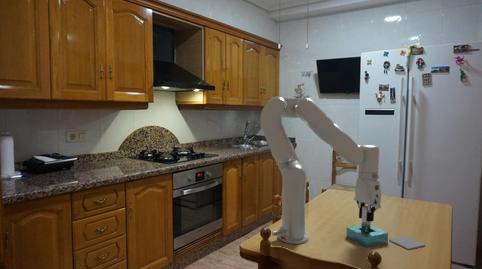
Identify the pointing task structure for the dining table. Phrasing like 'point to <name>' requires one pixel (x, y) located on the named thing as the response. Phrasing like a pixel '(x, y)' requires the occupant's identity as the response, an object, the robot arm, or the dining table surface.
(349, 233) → the teal socket block
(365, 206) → the steel key rod
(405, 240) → the grey rubber mat
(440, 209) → the dining table surface
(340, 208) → the dining table surface
